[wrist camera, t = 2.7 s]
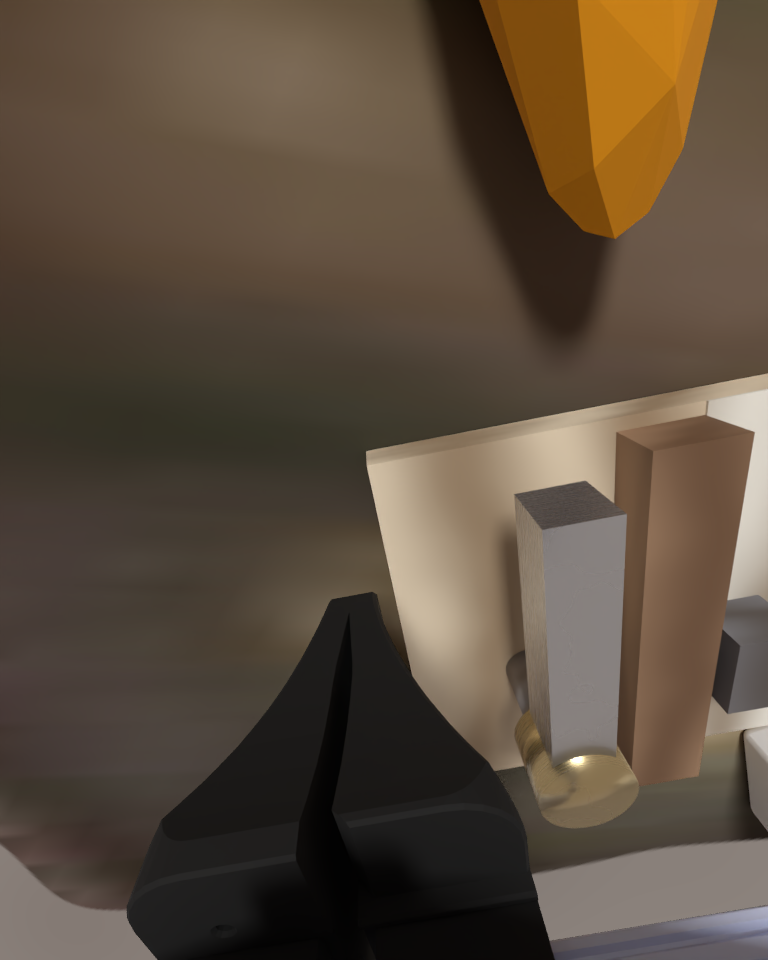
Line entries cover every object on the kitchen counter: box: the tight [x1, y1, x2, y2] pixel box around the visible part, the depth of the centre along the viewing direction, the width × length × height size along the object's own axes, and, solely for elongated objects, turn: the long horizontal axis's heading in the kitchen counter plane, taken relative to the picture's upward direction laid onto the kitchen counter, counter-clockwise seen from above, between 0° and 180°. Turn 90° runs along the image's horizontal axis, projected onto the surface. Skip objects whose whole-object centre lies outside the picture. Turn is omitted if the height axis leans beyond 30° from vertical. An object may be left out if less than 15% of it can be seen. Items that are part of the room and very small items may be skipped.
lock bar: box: [514, 481, 639, 828], centre depth 13 cm, size 12×3×2 cm, turn 10°
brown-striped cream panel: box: [366, 374, 768, 786], centre depth 17 cm, size 19×17×4 cm
